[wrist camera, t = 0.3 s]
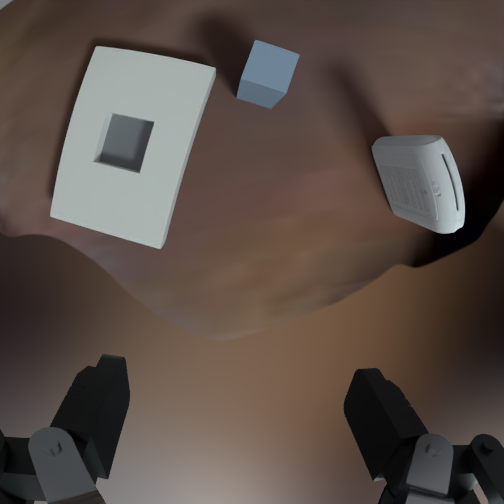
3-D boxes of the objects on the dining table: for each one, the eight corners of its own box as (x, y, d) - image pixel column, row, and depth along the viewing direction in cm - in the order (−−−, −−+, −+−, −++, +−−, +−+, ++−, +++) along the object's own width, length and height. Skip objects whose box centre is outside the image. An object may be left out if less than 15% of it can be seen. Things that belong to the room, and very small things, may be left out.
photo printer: (416, 206, 38) (478, 227, 26) (391, 219, 38) (450, 245, 26) (392, 132, 35) (454, 127, 23) (365, 143, 35) (423, 141, 23)
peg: (247, 67, 31) (255, 39, 23) (281, 78, 32) (299, 54, 24) (236, 98, 32) (240, 78, 24) (270, 108, 33) (286, 93, 24)
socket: (105, 53, 29) (96, 45, 26) (216, 75, 31) (215, 67, 29) (61, 211, 34) (50, 216, 31) (165, 242, 36) (160, 249, 33)
